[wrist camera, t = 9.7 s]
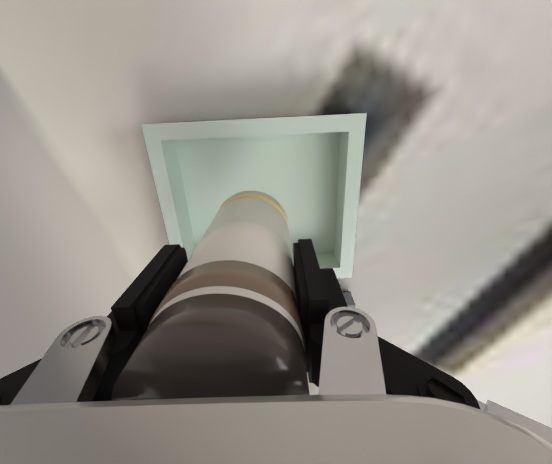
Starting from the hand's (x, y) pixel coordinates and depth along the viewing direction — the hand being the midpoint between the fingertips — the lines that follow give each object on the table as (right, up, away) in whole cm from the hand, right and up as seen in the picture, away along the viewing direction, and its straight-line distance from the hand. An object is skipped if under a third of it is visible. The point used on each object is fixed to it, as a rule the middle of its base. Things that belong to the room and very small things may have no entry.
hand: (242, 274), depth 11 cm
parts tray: (0, +5, +11) cm, 12 cm away
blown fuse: (0, +2, +5) cm, 5 cm away
